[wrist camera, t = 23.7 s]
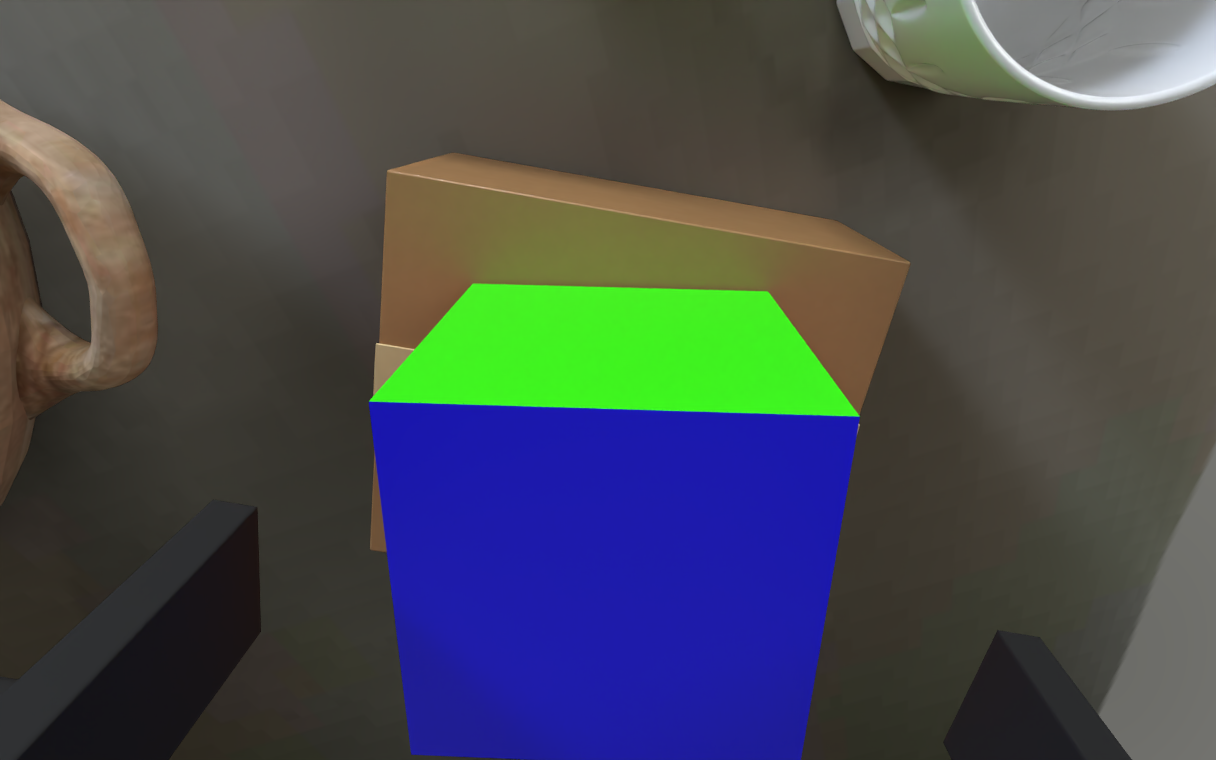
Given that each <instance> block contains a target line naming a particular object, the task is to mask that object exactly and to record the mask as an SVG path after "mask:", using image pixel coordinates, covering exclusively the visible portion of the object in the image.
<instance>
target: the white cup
mask: <svg viewBox="0 0 1216 760" xmlns="http://www.w3.org/2000/svg"><path fill="white" fill-rule="evenodd" d="M836 4H837V7H838V10H839V13H840V16H841V19H842V21H843V24H844V27H845V30H846V33H847V35H848V38H849V41H850V44H851V47H852V49H853V51H854V52H855V53H857V54H858V55H859V56H860V57H861V58H862V59H863V60H864V61H865V62H866V63H868V64H869V65H870V66H871V67H872V68H873V69H874V70H875V71H876V72H877V73H879V74H880V75H881V76H882V77H883V78H884V79H885V80H887V81H892V82H896V83H901V84H906V85H910V86H915V87H920V88H924V89H929V90H931V91H934V92H937V93H942V94H949V95H957V96H963V97H971V98H979V99H984V100H990V101H999V102H1012V103H1023V104H1036V105H1048V106H1060V107H1070V108H1080V109H1090V110H1103V111H1119V110H1132V109H1140V108H1147V107H1152V106H1157V105H1161V104H1165V103H1168V102H1172V101H1175V100H1178V99H1181V98H1184V97H1187V96H1190V95H1192V94H1195V93H1197V92H1200V91H1202V90H1204V89H1207V88H1209V87H1211V86H1213V85H1215V84H1216V0H837V2H836Z"/></svg>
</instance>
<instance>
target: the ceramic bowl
mask: <svg viewBox="0 0 1216 760" xmlns="http://www.w3.org/2000/svg"><path fill="white" fill-rule="evenodd" d="M22 176H26V177H28V178H29V179H30V180H32V181H33V182H34V183H35V184H36V185H37V186H38V187H39V188H40V189H41V190H42V191H43V192H44V194H45V195H46V197H47V198H48V199H49V201H50V202H51V203H52V205H53V207H54V209H55V211H56V212H57V214H58V216H59V218H60V220H61V222H62V224H63V226H64V228H65V230H66V233H67V235H68V237H69V239H70V242H71V244H72V246H73V249H74V251H75V253H76V255H77V258H78V260H79V262H80V264H81V267H82V269H83V272H84V275H85V278H86V280H87V283H88V289H89V297H90V313H91V332H92V336H91V343H90V342H87V341H85V340H84V339H82V338H80V337H78V336H76V335H75V334H73V333H72V332H70V331H69V330H68V329H66V328H65V327H64V326H62V325H61V324H60V323H59V322H58V321H56V320H55V319H54V318H53V317H52V316H50V315H49V314H48V313H47V312H46V311H45V310H44V309H43V308H42V303H41V298H40V293H39V287H38V282H37V277H36V272H35V267H34V262H33V257H32V251H31V246H30V241H29V238H28V235H27V232H26V230H25V227H24V224H23V221H22V219H21V216H20V213H19V210H18V208H17V205H16V202H15V199H14V197H13V194H12V191H11V189H12V188H13V186H14V185H15V184H16V182H17V181H18V180H19V179H20V178H21V177H22ZM157 335H158V323H157V303H156V288H155V281H154V276H153V271H152V267H151V263H150V260H149V257H148V254H147V251H146V248H145V245H144V242H143V239H142V236H141V234H140V231H139V228H138V225H137V223H136V220H135V217H134V215H133V212H132V209H131V206H130V204H129V202H128V200H127V198H126V196H125V194H124V191H123V189H122V188H121V186H120V184H119V183H118V181H117V179H116V178H115V176H114V175H113V174H112V173H111V171H110V170H109V169H108V168H107V166H106V165H105V164H104V163H103V162H102V161H101V160H100V159H99V158H98V157H97V156H96V155H95V154H94V153H92V152H91V151H90V150H89V149H87V148H86V147H85V146H84V145H82V144H81V143H80V142H78V141H77V140H75V139H74V138H72V137H70V136H69V135H67V134H65V133H64V132H62V131H60V130H58V129H56V128H54V127H53V126H51V125H49V124H47V123H44V122H42V121H40V120H38V119H36V118H33V117H31V116H29V115H27V114H25V113H23V112H21V111H19V110H17V109H15V108H13V107H12V106H10V105H8V104H6V103H5V102H3V101H2V100H0V507H1V505H2V503H3V502H4V500H5V498H6V496H7V494H8V492H9V490H10V487H11V485H12V483H13V481H14V479H15V477H16V475H17V473H18V471H19V469H20V467H21V465H22V462H23V460H24V458H25V456H26V454H27V452H28V448H29V444H30V441H31V437H32V432H33V427H34V422H35V417H36V416H38V415H39V414H41V413H42V412H44V411H46V410H47V409H49V408H50V407H52V406H54V405H55V404H57V403H59V402H60V401H62V400H64V399H65V398H67V397H69V396H71V395H73V394H75V393H78V392H80V391H100V390H105V389H109V388H113V387H117V386H119V385H122V384H124V383H127V382H129V381H131V380H133V379H134V378H136V377H137V376H138V375H140V374H141V373H142V372H143V371H144V370H145V369H146V368H147V366H148V365H149V364H150V362H151V359H152V357H153V355H154V352H155V348H156V343H157Z"/></svg>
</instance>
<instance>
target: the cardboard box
mask: <svg viewBox="0 0 1216 760" xmlns="http://www.w3.org/2000/svg"><path fill="white" fill-rule="evenodd" d="M909 267H910V262H909V261H907V260H905V259H903V258H902V257H900V256H898V255H896V254H895V253H893V252H891V251H889V250H888V249H886V248H884V247H882V246H881V245H879V244H877V243H875V242H874V241H872V240H870V239H868V238H866V237H865V236H863V235H861V234H859V233H858V232H856V231H854V230H852V229H851V228H849V227H847V226H845V225H844V224H842V223H840V222H838V221H836V220H830V219H825V218H819V217H813V216H808V215H802V214H796V213H791V212H785V211H780V210H774V209H768V208H763V207H757V206H751V205H746V204H740V203H735V202H729V201H723V200H718V199H712V198H706V197H701V196H695V195H690V194H684V193H678V192H673V191H667V190H661V189H656V188H650V187H645V186H639V185H633V184H628V183H622V182H616V181H611V180H605V179H600V178H594V177H588V176H583V175H577V174H571V173H566V172H560V171H555V170H549V169H543V168H538V167H532V166H526V165H521V164H515V163H510V162H504V161H498V160H493V159H487V158H481V157H476V156H470V155H465V154H459V153H449V154H445V155H442V156H438V157H435V158H431V159H427V160H424V161H420V162H416V163H413V164H409V165H405V166H402V167H398V168H395V169H391V170H388V171H387V182H386V204H385V226H384V248H383V271H382V293H381V315H380V338H379V343H376V348H375V371H374V394H373V396H374V395H375V394H376V393H377V392H378V390H379V389H380V388H381V387H382V386H383V385H384V384H385V382H386V381H387V380H388V379H389V378H390V377H391V376H392V375H393V373H394V372H395V371H396V370H397V369H398V368H399V367H400V365H401V364H402V363H403V362H404V361H405V360H406V359H407V358H408V356H409V355H410V354H411V353H412V352H413V351H414V350H415V348H416V347H417V346H418V345H419V344H420V343H421V342H422V341H423V339H424V338H425V337H426V336H427V335H428V334H429V333H430V332H431V330H432V329H433V328H434V327H435V326H436V325H437V324H438V322H439V321H440V320H441V319H442V318H443V317H444V316H445V315H446V313H447V312H448V311H449V310H450V309H451V308H452V307H453V305H454V304H455V303H456V302H457V301H458V300H459V299H460V298H461V296H462V295H463V294H464V293H465V292H466V291H467V290H468V288H469V287H470V286H471V285H472V284H510V285H547V286H585V287H622V288H660V289H697V290H734V291H768V292H769V293H770V295H771V296H772V297H773V299H774V300H775V301H776V303H777V304H778V306H779V307H780V308H781V310H782V311H783V312H784V314H785V315H786V316H787V318H788V319H789V321H790V322H791V323H792V325H793V326H794V327H795V329H796V330H797V331H798V333H799V334H800V336H801V337H802V338H803V340H804V341H805V342H806V344H807V345H808V346H809V348H810V349H811V351H812V352H813V353H814V355H815V356H816V357H817V359H818V360H819V361H820V363H821V364H822V366H823V367H824V368H825V370H826V371H827V372H828V374H829V375H830V376H831V378H832V379H833V381H834V382H835V383H836V385H837V386H838V387H839V389H840V390H841V391H842V393H843V394H844V396H845V397H846V398H847V400H848V401H849V402H850V404H851V405H852V406H853V408H854V409H855V411H856V412H857V413H858V415H860V412H861V409H862V406H863V403H864V400H865V397H866V394H867V391H868V388H869V385H870V382H871V379H872V376H873V373H874V370H875V367H876V365H877V362H878V359H879V356H880V353H881V350H882V347H883V344H884V341H885V338H886V335H887V332H888V329H889V326H890V323H891V320H892V317H893V314H894V311H895V308H896V305H897V302H898V300H899V297H900V294H901V291H902V288H903V285H904V282H905V279H906V276H907V273H908V270H909ZM859 427H860V424H858V430H859ZM858 430H857V433H858ZM370 550H374V551H380V552H386V553H387V549H386V541H385V532H384V524H383V516H382V508H381V499H380V491H379V483H378V474H377V466H376V458H375V450H374V472H373V494H372V516H371V539H370Z"/></svg>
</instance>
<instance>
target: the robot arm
mask: <svg viewBox="0 0 1216 760" xmlns="http://www.w3.org/2000/svg"><path fill="white" fill-rule="evenodd" d="M260 632H261V615H260V580H259V545H258V510H257V507H254V506H248V505H242V504H236V503H230V502H224V501H218V500H212V501H211V502H210V503H209V504H208V505H207V506H206V507H205V508H204V509H202V510H201V511H200V512H199V513H198V514H197V515H196V516H195V517H194V518H193V519H192V520H191V521H189V522H188V523H187V524H186V525H185V526H184V527H183V528H182V529H181V530H180V531H179V532H178V533H176V534H175V535H174V536H173V537H172V538H171V539H170V540H169V541H168V542H167V543H166V544H165V545H164V546H162V547H161V548H160V549H159V550H158V551H157V552H156V553H155V554H154V555H153V556H152V557H151V558H149V559H148V560H147V561H146V562H145V563H144V564H143V565H142V566H141V567H140V568H139V569H138V570H136V571H135V572H134V573H133V574H132V575H131V576H130V577H129V578H128V579H127V580H126V581H125V582H123V583H122V584H121V585H120V586H119V587H118V588H117V589H116V590H115V591H114V592H113V593H112V594H110V595H109V596H108V597H107V598H106V599H105V600H104V601H103V602H102V603H101V604H100V605H99V606H97V607H96V608H95V609H94V610H93V611H92V612H91V613H90V614H89V615H88V616H87V617H86V618H84V619H83V620H82V621H81V622H80V623H79V624H78V625H77V626H76V627H75V628H74V629H73V630H71V631H70V632H69V633H68V634H67V635H66V636H65V637H64V638H63V639H62V640H61V641H60V642H58V643H57V644H56V645H55V646H54V647H53V648H52V649H51V650H50V651H49V652H48V653H47V654H45V655H44V656H43V657H42V658H41V659H40V660H39V661H38V662H37V663H36V664H35V665H34V666H32V667H31V668H30V669H29V670H28V671H27V672H26V673H25V674H24V675H23V676H22V677H21V678H19V679H12V678H6V677H0V760H169V758H170V757H171V755H172V754H173V753H174V751H175V750H176V748H177V747H178V746H179V744H180V743H181V742H182V740H183V739H184V737H185V736H186V735H187V733H188V732H189V730H190V729H191V728H192V726H193V725H194V724H195V722H196V721H197V719H198V718H199V717H200V715H201V714H202V712H203V711H204V710H205V708H206V707H207V705H208V704H209V703H210V701H211V700H212V699H213V697H214V696H215V694H216V693H217V692H218V690H219V689H220V687H221V686H222V685H223V683H224V682H225V680H226V679H227V678H228V676H229V675H230V674H231V672H232V671H233V669H234V668H235V667H236V665H237V664H238V662H239V661H240V660H241V658H242V657H243V656H244V654H245V653H246V651H247V650H248V649H249V647H250V646H251V644H252V643H253V642H254V640H255V639H256V637H257V636H258V635H259V633H260ZM944 745H945V747H946V749H947V751H948V753H949V755H950V757H951V759H952V760H1132V759H1131V758H1130V757H1129V755H1128V754H1127V753H1126V752H1125V750H1124V749H1123V748H1122V746H1121V745H1120V744H1119V742H1118V741H1117V739H1116V738H1115V737H1114V735H1113V734H1112V733H1111V731H1110V730H1109V729H1108V727H1107V726H1106V725H1105V723H1104V722H1103V721H1102V720H1101V718H1100V717H1099V715H1098V714H1097V713H1096V711H1095V710H1094V709H1093V707H1092V706H1091V705H1090V703H1089V702H1088V701H1087V700H1086V698H1085V697H1084V696H1083V694H1082V693H1081V692H1080V690H1079V689H1078V688H1077V686H1076V685H1075V684H1074V682H1073V681H1072V680H1071V678H1070V677H1069V676H1068V674H1067V673H1066V672H1065V670H1064V669H1063V668H1062V666H1061V665H1060V664H1059V662H1058V661H1057V660H1056V658H1055V657H1054V656H1053V654H1052V653H1051V652H1050V650H1049V649H1048V648H1047V646H1046V645H1045V644H1044V642H1043V641H1042V640H1041V638H1040V637H1035V636H1029V635H1023V634H1017V633H1011V632H1005V631H999V630H997V633H996V635H995V637H994V639H993V641H992V643H991V645H990V647H989V649H988V651H987V653H986V655H985V657H984V659H983V661H982V663H981V665H980V668H979V670H978V672H977V674H976V676H975V678H974V680H973V682H972V684H971V686H970V688H969V690H968V692H967V694H966V696H965V698H964V701H963V703H962V705H961V707H960V709H959V711H958V713H957V715H956V717H955V719H954V721H953V723H952V725H951V727H950V729H949V731H948V733H947V736H946V738H945V740H944Z"/></svg>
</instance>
